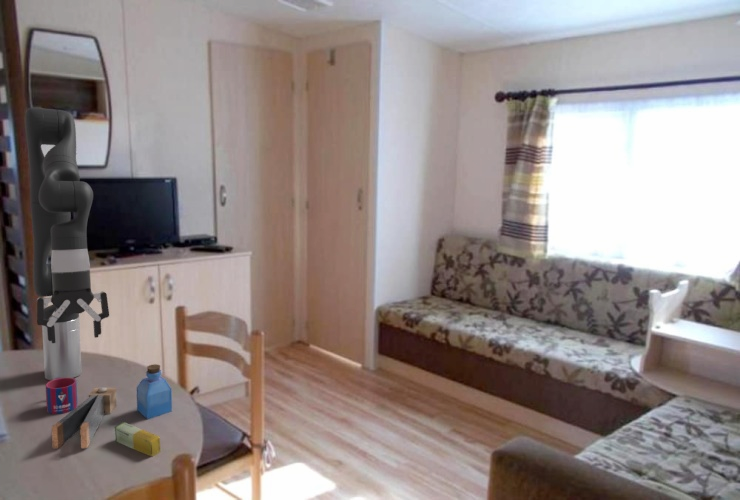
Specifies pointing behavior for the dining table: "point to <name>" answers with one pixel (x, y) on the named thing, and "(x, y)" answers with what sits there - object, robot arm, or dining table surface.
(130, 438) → the medication box
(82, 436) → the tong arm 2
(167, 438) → the dining table surface
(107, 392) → the block
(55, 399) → the mug
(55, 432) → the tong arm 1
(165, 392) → the perfume bottle
